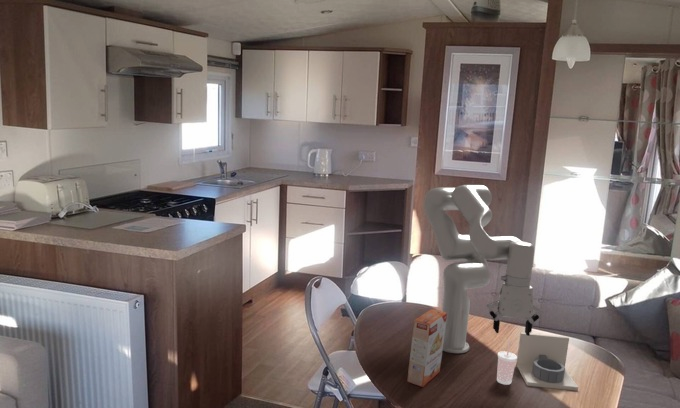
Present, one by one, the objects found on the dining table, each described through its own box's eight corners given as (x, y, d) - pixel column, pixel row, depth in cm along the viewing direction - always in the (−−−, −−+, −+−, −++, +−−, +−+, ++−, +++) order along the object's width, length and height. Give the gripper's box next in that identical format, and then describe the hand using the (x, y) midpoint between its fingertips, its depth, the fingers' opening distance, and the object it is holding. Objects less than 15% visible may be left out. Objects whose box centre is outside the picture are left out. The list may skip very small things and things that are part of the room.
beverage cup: (499, 374, 192) (504, 335, 189) (516, 381, 188) (522, 340, 185) (491, 380, 187) (496, 340, 184) (509, 387, 183) (514, 346, 181)
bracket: (527, 385, 186) (532, 350, 183) (516, 364, 200) (520, 332, 198) (577, 390, 185) (583, 355, 183) (563, 369, 199) (568, 336, 197)
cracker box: (424, 388, 178) (430, 324, 175) (406, 382, 181) (412, 319, 178) (441, 372, 190) (448, 312, 187) (424, 367, 193) (430, 307, 190)
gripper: (492, 282, 178) (486, 334, 181) (549, 286, 177) (542, 339, 180) (487, 275, 186) (482, 326, 188) (542, 279, 185) (536, 330, 187)
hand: (511, 332), depth 184 cm, fingers open, 9 cm apart
